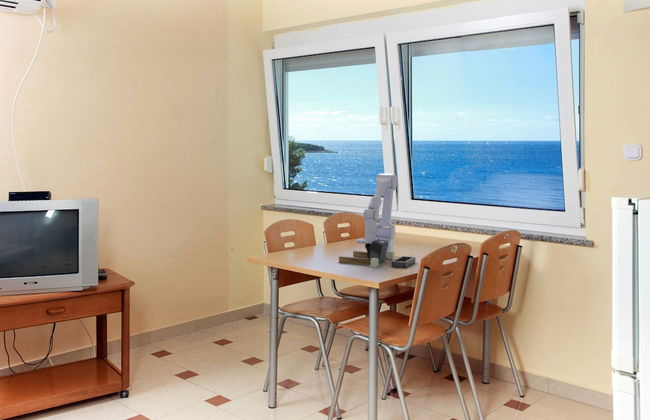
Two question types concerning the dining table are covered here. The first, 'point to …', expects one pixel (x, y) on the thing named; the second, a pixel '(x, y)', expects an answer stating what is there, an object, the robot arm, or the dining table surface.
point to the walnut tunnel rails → (354, 259)
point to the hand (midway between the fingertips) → (369, 258)
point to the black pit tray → (403, 262)
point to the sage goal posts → (376, 260)
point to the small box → (378, 250)
